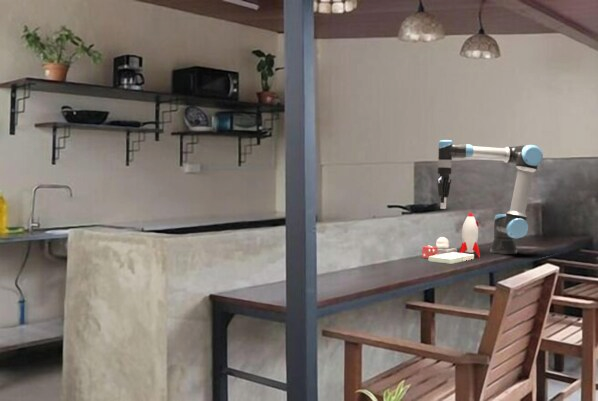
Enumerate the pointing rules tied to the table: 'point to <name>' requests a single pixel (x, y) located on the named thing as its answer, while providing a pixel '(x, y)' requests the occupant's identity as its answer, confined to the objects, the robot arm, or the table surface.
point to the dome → (442, 243)
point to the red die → (428, 251)
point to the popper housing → (446, 251)
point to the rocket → (470, 235)
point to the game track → (451, 257)
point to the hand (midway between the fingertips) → (443, 208)
